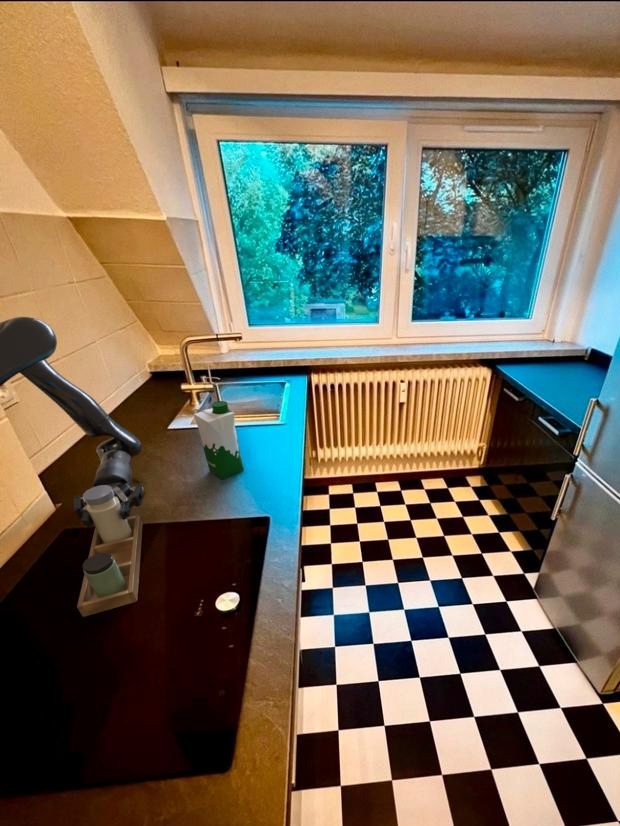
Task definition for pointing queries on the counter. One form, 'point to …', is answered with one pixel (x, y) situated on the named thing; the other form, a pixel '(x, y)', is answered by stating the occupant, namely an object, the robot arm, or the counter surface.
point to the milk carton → (220, 440)
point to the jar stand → (128, 563)
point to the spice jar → (104, 575)
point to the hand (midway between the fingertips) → (105, 519)
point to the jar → (106, 514)
